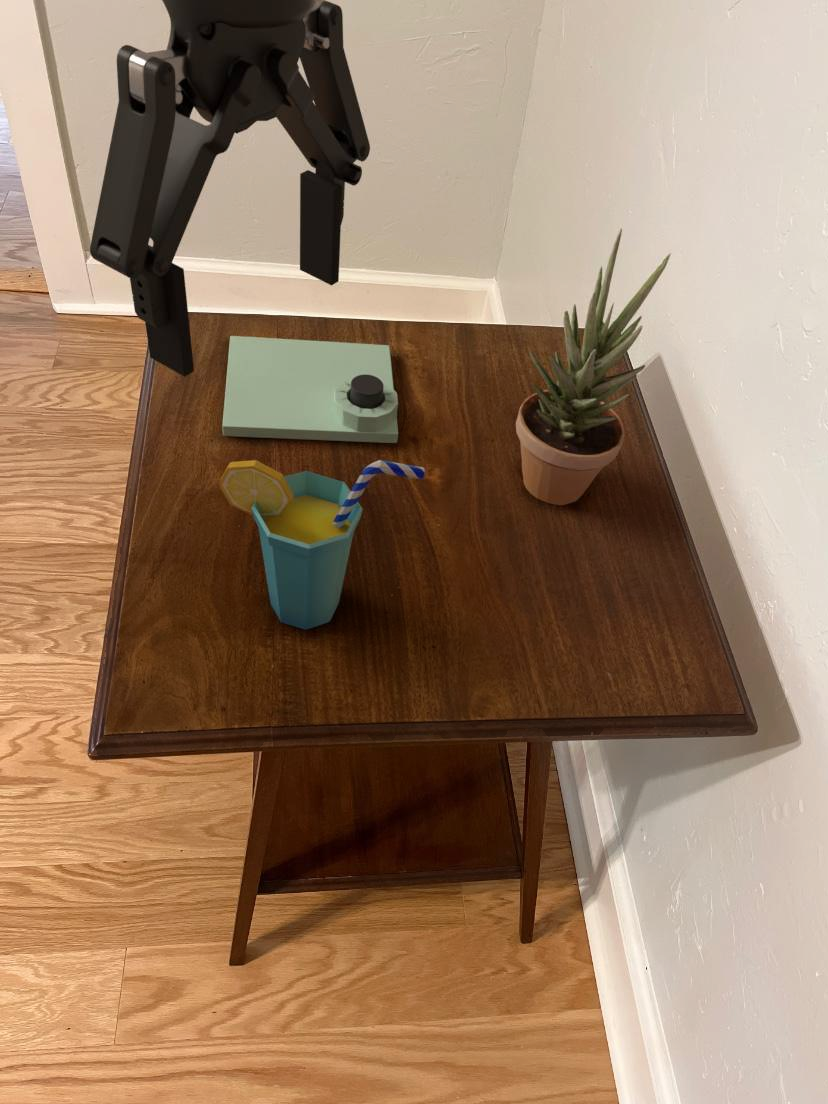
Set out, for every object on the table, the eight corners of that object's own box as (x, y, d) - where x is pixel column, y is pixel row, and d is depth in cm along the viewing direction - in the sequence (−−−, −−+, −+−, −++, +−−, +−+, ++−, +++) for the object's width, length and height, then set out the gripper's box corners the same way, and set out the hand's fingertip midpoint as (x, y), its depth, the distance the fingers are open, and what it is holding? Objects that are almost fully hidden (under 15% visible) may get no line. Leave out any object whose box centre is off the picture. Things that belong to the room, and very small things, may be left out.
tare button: (350, 408, 84) (351, 393, 83) (349, 388, 86) (350, 373, 84) (382, 410, 84) (384, 395, 83) (381, 390, 86) (382, 375, 85)
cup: (399, 566, 76) (420, 425, 64) (408, 640, 71) (432, 502, 60) (227, 566, 73) (216, 419, 62) (224, 643, 68) (212, 499, 57)
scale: (222, 436, 83) (221, 410, 81) (230, 345, 92) (229, 319, 89) (397, 443, 86) (400, 418, 83) (388, 354, 95) (391, 329, 92)
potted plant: (606, 461, 88) (693, 219, 70) (599, 528, 82) (693, 282, 63) (506, 438, 88) (566, 190, 70) (491, 502, 82) (553, 250, 64)
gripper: (74, -19, 33) (147, 440, 49) (452, -109, 47) (412, 265, 63) (-68, -79, 35) (48, 380, 51) (338, -147, 49) (327, 225, 65)
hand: (250, 317), depth 57 cm, fingers open, 13 cm apart
